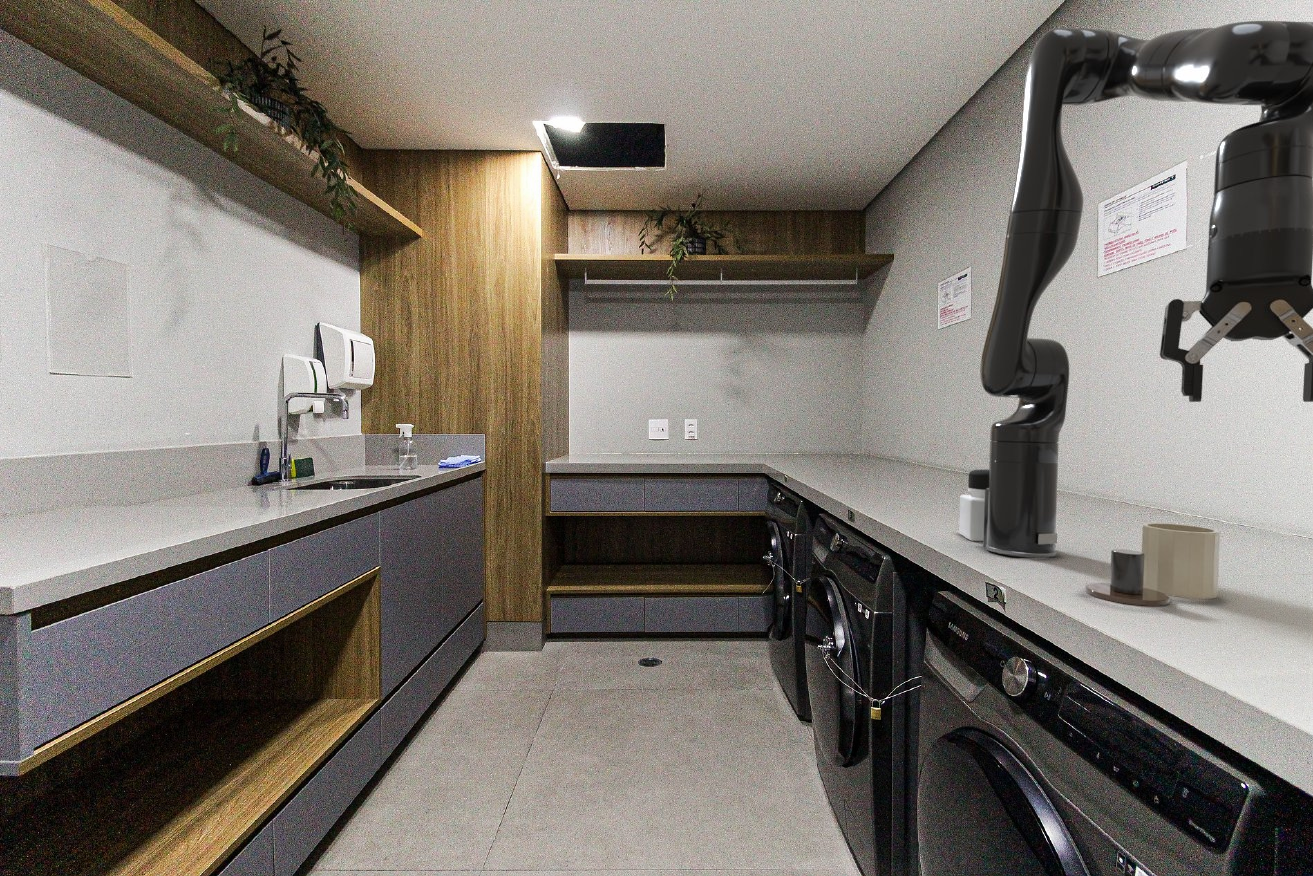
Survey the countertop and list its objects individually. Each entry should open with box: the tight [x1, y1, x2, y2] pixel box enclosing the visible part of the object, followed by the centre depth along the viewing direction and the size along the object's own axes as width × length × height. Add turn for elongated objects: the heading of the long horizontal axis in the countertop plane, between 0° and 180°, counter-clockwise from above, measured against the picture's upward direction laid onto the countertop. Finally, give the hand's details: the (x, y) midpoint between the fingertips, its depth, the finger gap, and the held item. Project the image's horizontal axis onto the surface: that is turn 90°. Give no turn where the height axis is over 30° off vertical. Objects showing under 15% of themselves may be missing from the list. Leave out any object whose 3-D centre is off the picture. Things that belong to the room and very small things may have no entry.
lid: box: [1085, 548, 1170, 607], centre depth 72 cm, size 8×8×6 cm
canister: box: [1140, 522, 1221, 600], centre depth 75 cm, size 7×7×8 cm
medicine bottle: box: [958, 468, 989, 542], centre depth 111 cm, size 7×7×12 cm
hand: (1250, 401), depth 63 cm, fingers open, 8 cm apart
